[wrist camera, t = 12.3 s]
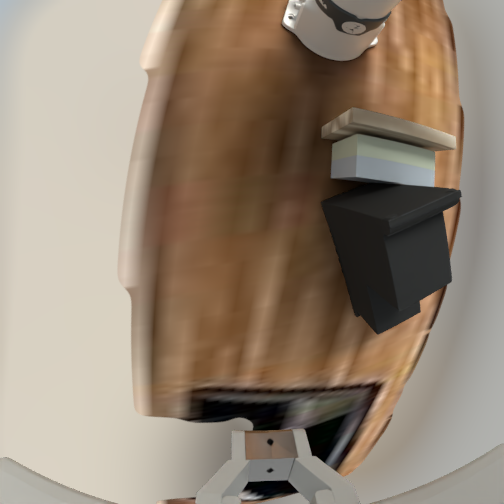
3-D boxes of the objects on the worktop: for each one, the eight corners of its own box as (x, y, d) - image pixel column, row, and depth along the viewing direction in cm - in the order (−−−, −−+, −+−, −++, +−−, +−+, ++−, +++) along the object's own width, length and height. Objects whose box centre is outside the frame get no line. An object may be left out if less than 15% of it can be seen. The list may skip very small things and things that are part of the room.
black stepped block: (399, 293, 52) (471, 349, 29) (353, 315, 52) (412, 388, 29) (371, 181, 47) (460, 184, 24) (318, 201, 47) (385, 217, 24)
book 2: (331, 160, 45) (356, 155, 35) (399, 171, 46) (434, 170, 36) (330, 178, 46) (355, 176, 35) (398, 187, 47) (433, 189, 36)
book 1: (332, 143, 45) (357, 133, 34) (400, 155, 46) (435, 151, 35) (331, 160, 45) (356, 155, 35) (399, 171, 46) (434, 170, 36)
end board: (321, 127, 44) (352, 107, 30) (409, 144, 45) (455, 136, 31) (321, 138, 44) (352, 121, 31) (408, 154, 45) (455, 149, 32)
